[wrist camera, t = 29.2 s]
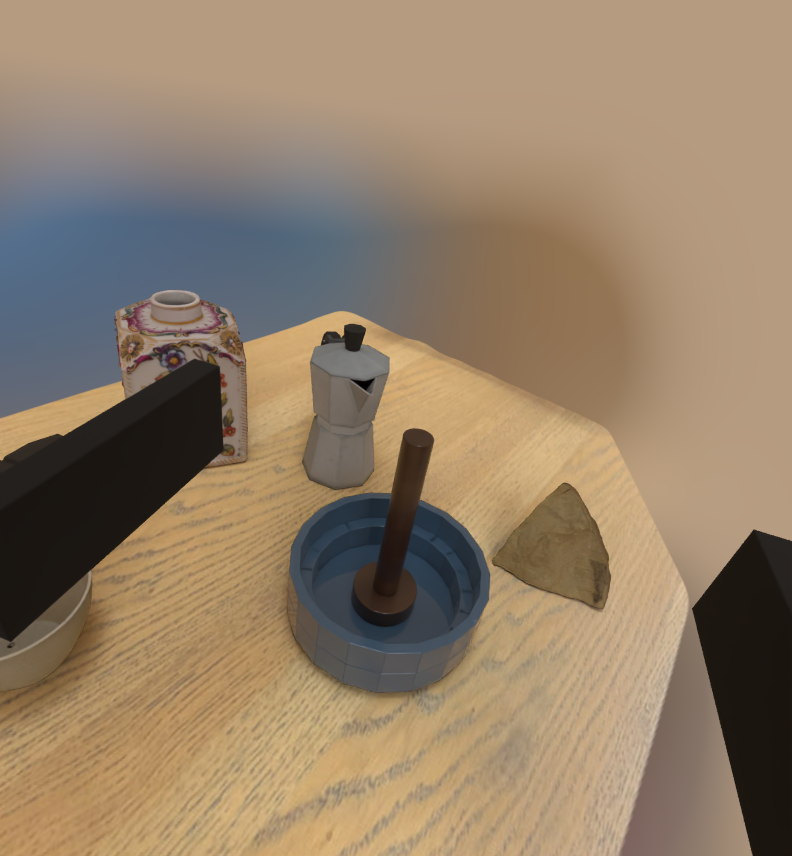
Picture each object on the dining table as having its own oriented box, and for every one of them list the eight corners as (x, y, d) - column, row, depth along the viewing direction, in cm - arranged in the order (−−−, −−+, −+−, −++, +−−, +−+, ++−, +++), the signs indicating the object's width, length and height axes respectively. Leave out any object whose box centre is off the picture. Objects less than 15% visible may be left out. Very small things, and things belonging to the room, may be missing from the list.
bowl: (508, 622, 45) (528, 579, 42) (370, 746, 35) (382, 702, 31) (388, 514, 54) (397, 472, 51) (251, 586, 44) (250, 539, 41)
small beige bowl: (-77, 754, 30) (-127, 692, 26) (-44, 619, 37) (-79, 554, 34) (109, 695, 35) (90, 635, 31) (107, 584, 42) (92, 523, 38)
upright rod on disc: (426, 605, 44) (474, 445, 34) (379, 639, 41) (418, 472, 31) (385, 564, 47) (419, 407, 38) (338, 592, 44) (362, 428, 34)
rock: (643, 581, 49) (572, 506, 54) (651, 557, 42) (568, 474, 48) (555, 647, 48) (493, 564, 54) (548, 635, 41) (478, 542, 47)
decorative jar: (249, 464, 57) (248, 318, 48) (137, 481, 52) (110, 322, 42) (229, 409, 66) (224, 276, 56) (130, 420, 61) (106, 275, 51)
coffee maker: (391, 495, 57) (420, 354, 47) (317, 507, 53) (331, 357, 44) (350, 423, 68) (367, 296, 58) (286, 429, 64) (292, 295, 54)
